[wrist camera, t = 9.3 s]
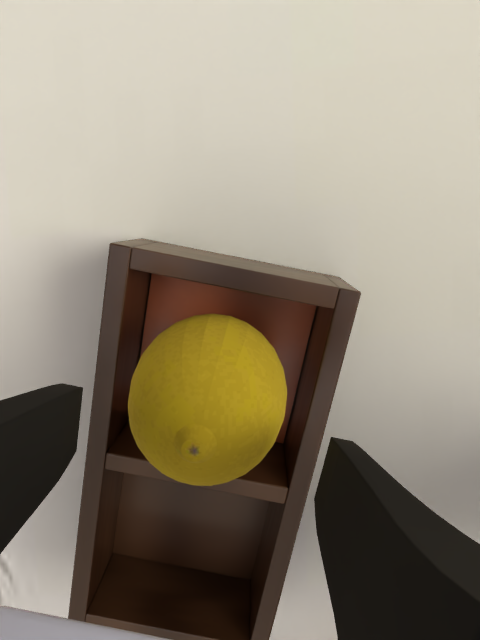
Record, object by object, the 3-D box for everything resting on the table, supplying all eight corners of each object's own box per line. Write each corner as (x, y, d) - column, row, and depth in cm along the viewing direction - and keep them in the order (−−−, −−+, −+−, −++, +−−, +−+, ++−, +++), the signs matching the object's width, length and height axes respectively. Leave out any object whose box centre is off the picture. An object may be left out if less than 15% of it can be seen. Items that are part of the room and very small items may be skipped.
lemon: (292, 398, 19) (316, 519, 11) (178, 422, 20) (126, 554, 12) (265, 283, 18) (271, 331, 10) (145, 312, 18) (62, 378, 11)
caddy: (340, 277, 18) (361, 291, 14) (262, 586, 22) (263, 662, 19) (140, 238, 18) (109, 242, 14) (100, 554, 22) (66, 624, 19)
